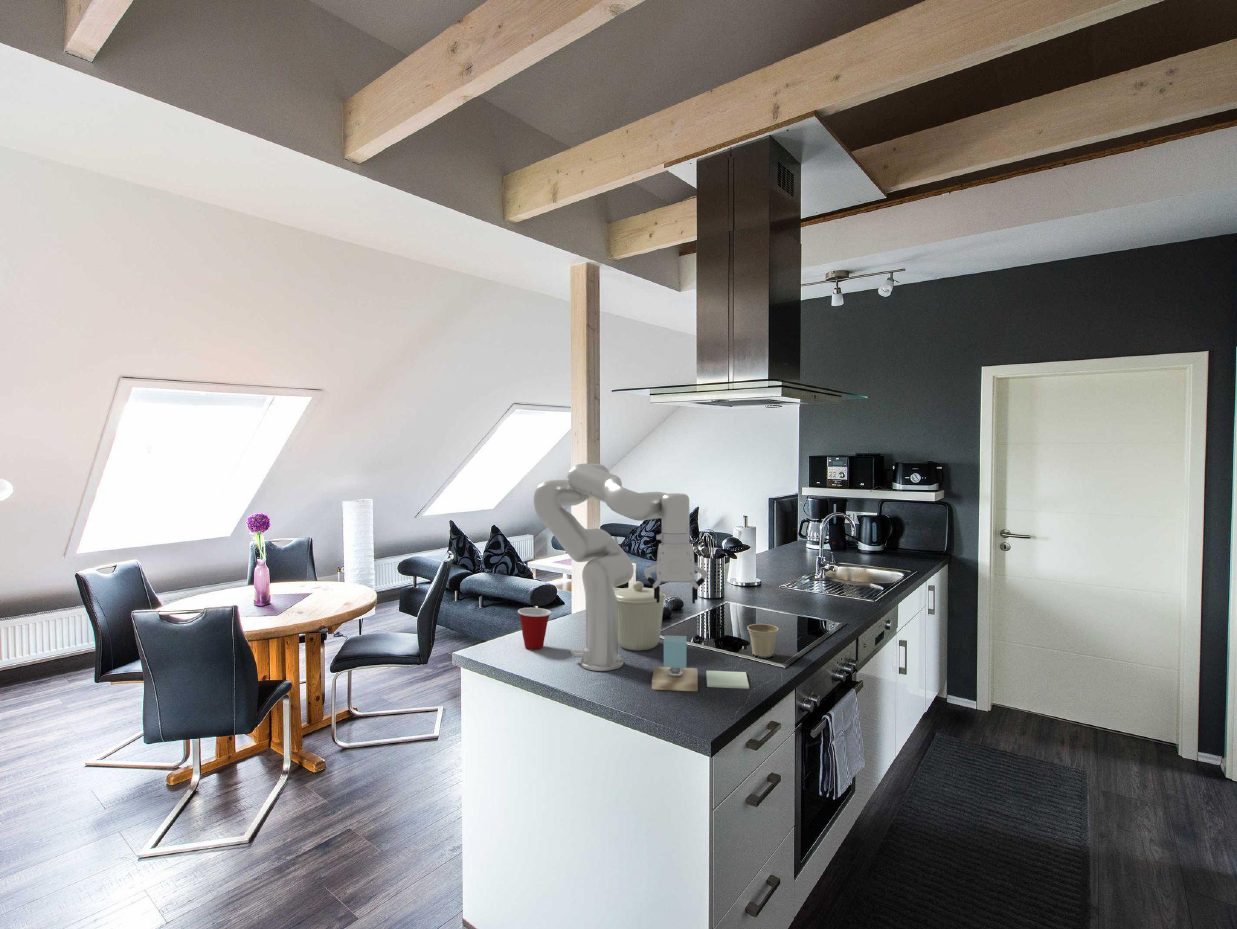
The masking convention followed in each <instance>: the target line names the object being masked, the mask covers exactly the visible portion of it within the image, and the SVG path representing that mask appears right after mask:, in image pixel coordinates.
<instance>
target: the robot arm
mask: <svg viewBox="0 0 1237 929" xmlns="http://www.w3.org/2000/svg"><path fill="white" fill-rule="evenodd" d="M591 498H593V499H596V500H598V501H600V502H603V503H605V504H606V506H607V507H608V508H609V509H610V510H611V511H612V512H614V513H616V514H618V515H620V516H623V517H626V518H629V519H630V520H634V521H641V522H642V521H646V520H647V521H648V520H656V519H661V533H659V534H656V535H655V536H656V537H655V538H656V540H657V541H658V540H659V541H660V542H661V543H658V548H657V555H656V556H657V557H656V564H655V565H653V566H651V567H649V568H646V569H644V570H643V574H644V577H645V579H646V580H647V582H648V583H649V584H650V585H651V586H652V587H653V589H654V599H657V603H659V601H660V591H661V590H660V589H661V588H660V587H661V586H660V584H661V583H662V582H663V583H690V585H692V588H691V590H692V591H691V595H692V596H691V597H692V598H691V600H692V604H693V605H694V604H696V601H698V597H699V596H698V592H699V591H698V590H699V589H698V588H700V586H701V585H702V584H704V582H705V580H706V578H707V577H708V574H709V573H708V570H706V569H703V568H701V567H699V566H698V565H696V564H695V555H694V554H695V553H694V548H693V544H692V543H690V497H689V496H688V495H687V494H686V493H678V492H677V493H675V492H674V493H666V492H663V491H662V492H661V491H649V492H648V491H647V492H637V491H633V490H631V489H628V488H626V487H623V482H622V480H621V478H620V477H619V476H618V475H616V474H613V473H610V471H609V469H608V468H607V467H606V466H604V465H603V464H601V463H578V464H575V465H573V466H572V467H571V468H570V469H569V470H568V473H567V476H566V479H552V480H547V481H544V482H541V483H540V484H539V485H537V486H536V488H535V490H534V494H533V506H534V511H535V513H536V515H537V517H538V518H539V519H540V521H541V522H542V523H543V525H544V526H545V528H547V529H548V530H549V531H550V533H551V534H552V535H553V536H554V538H555V539H556V540H557V542H558V543H559V544H560V545H561V547H562V549H563V550H564V551H565V552H566V553H567V555H568V556H569V557H570V559H572V560H573V561H574V562H577V563H585V562H587V563H586V564H585V565H584V567H583V569H582V573H581V574H582V575H581V576H582V577H581V579H582V584H583V591H584V597H585V598H584V599H585V601H584V602H585V647H584V648H583V647H582V648H581V649H579V648H571V653H570V654H571V656H573V657H574V658H581V659H580V666H581V667H582V668H584V669H585V670H589V671H597V672H607V671H614V670H617V669H619V668H622V666H623V665H624V659H623V658H622V657H620V656H619V643H618V603H617V598H616V595H615V593H614V592H615V591H614V590H615V589H614V588H616V587H619V586H622V585H625V584H627V583H628V582H630V581H631V580H632V578H633V576H634V565H633V562H632V561H631V559H630V557H629V556H628V555H627V553H626V552H625V551H624V550H623V548H622V547H621V546H620V544H618V543H617V541H616V540H615V538H613V536H612V535H611V534H610V533H609V532H607V531H606V530H604V529H602V528H589V529H588V528H585V527H584V526H583V525H582V524H581V523H580V522H579V520H577V518H576V517H575V515H573V513H570V512H569V511H568V510H566V509H565V508H564V507H572V506H577V505H580V504H582V503H583V502H586V501H588V500H589V499H591ZM655 571H656V579H654V578H653V577H652V575H651V573H653V572H655ZM695 572H697V573H698V574H700V575H701V576H700V578H699V579H698V580H696V579H695V575H696V574H695Z"/></svg>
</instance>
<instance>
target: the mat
mask: <svg viewBox="0 0 1237 929" xmlns="http://www.w3.org/2000/svg"><path fill="white" fill-rule="evenodd" d="M705 674H706V687H707V688H724V689H727V688H728V689H747V690H749V689H750V685H749V681H748V677H747V672H746V671H725V670H706V673H705Z"/></svg>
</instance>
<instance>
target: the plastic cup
mask: <svg viewBox="0 0 1237 929" xmlns="http://www.w3.org/2000/svg"><path fill="white" fill-rule="evenodd" d="M517 614H518V616H519V622H520V625H521V632H522V639H523V644H524V648H525V649H526V650H529V649H537V650H541V649H543V647H544V642H545V638H546V633H547V626H548V622H549V619H550V617H551V615H552V611H551V610H549V609H546V608H541V607H523V608H519V609H518V610H517Z"/></svg>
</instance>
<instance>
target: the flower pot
mask: <svg viewBox="0 0 1237 929" xmlns="http://www.w3.org/2000/svg"><path fill="white" fill-rule="evenodd" d="M746 628H747V630H748V633H749V637H750V645H751V652H752V655H753V654H754V655H759V656H767V655H772V654H773V653H774V651H775V644H776V638H777V637H776V636H778V635H777V634H778V631H779V627H777V626H776V625H772V624H767V623H766V624H765V623H756V624H755V623H754V624H749V625H748V626H746ZM773 655H774V654H773Z"/></svg>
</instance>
